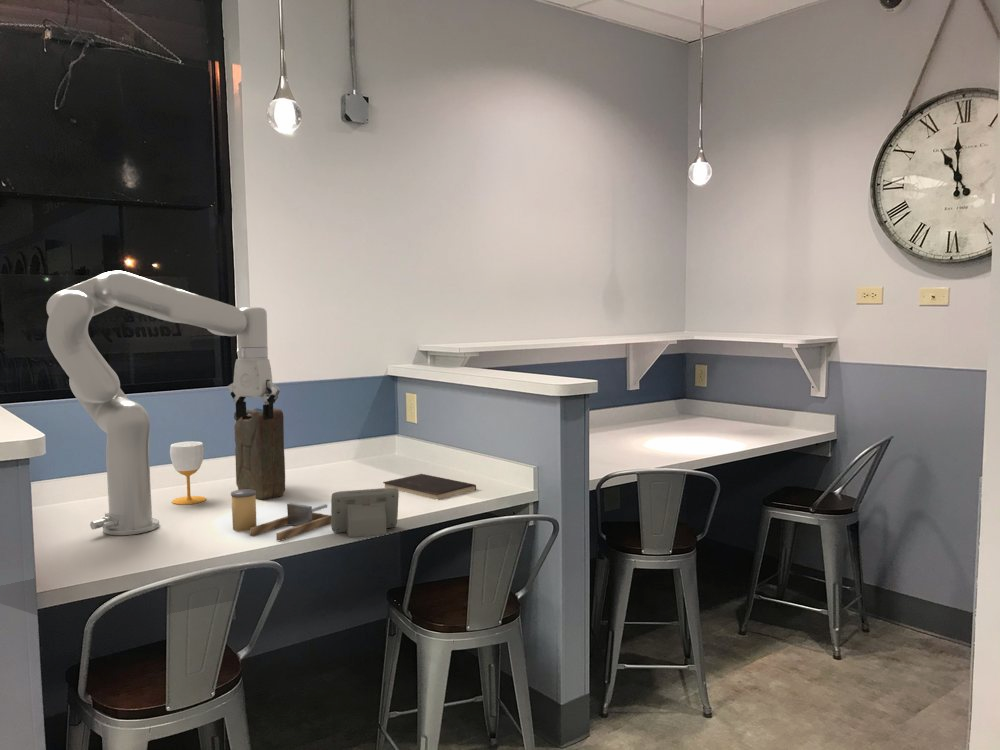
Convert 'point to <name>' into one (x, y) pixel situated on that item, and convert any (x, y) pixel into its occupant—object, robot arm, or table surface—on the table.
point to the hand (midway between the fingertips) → (254, 417)
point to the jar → (243, 509)
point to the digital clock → (364, 511)
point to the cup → (187, 466)
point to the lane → (316, 522)
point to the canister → (260, 453)
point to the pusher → (301, 513)
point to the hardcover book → (430, 486)
